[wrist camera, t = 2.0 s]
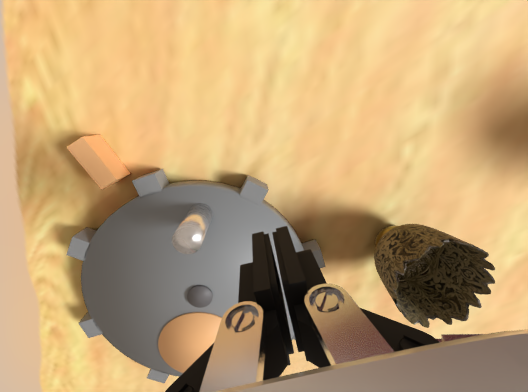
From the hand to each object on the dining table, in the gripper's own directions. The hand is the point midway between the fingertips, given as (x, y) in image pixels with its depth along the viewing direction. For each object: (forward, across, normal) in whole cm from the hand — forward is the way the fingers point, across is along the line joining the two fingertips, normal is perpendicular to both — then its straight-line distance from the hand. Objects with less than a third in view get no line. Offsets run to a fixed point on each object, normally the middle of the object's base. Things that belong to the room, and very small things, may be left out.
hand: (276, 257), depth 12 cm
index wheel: (+12, +8, +9) cm, 17 cm away
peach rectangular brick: (+13, +13, -5) cm, 19 cm away
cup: (+12, -12, +9) cm, 19 cm away
